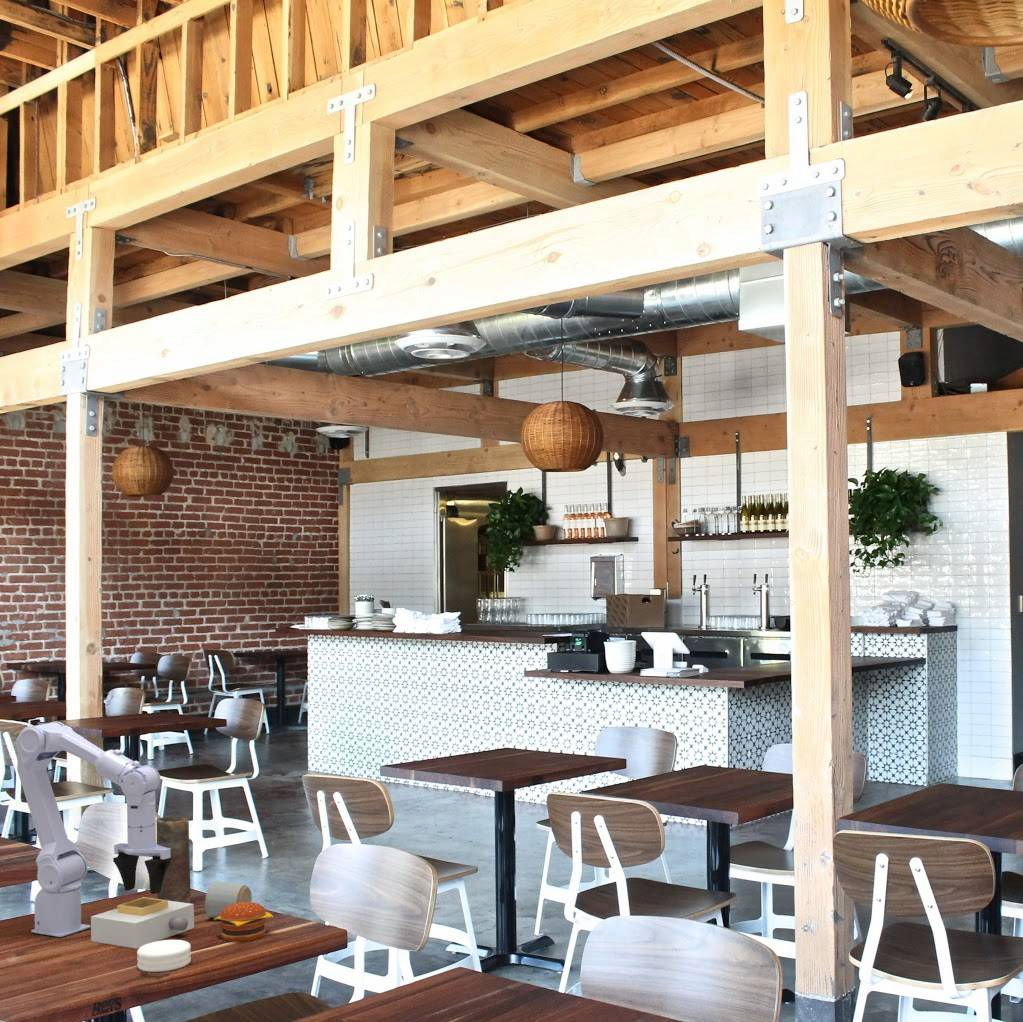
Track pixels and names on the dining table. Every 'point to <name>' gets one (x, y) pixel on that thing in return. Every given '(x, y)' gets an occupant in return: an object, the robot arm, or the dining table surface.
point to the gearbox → (142, 922)
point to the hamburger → (243, 922)
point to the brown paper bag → (175, 859)
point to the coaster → (163, 955)
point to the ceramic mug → (225, 897)
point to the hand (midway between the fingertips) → (142, 891)
